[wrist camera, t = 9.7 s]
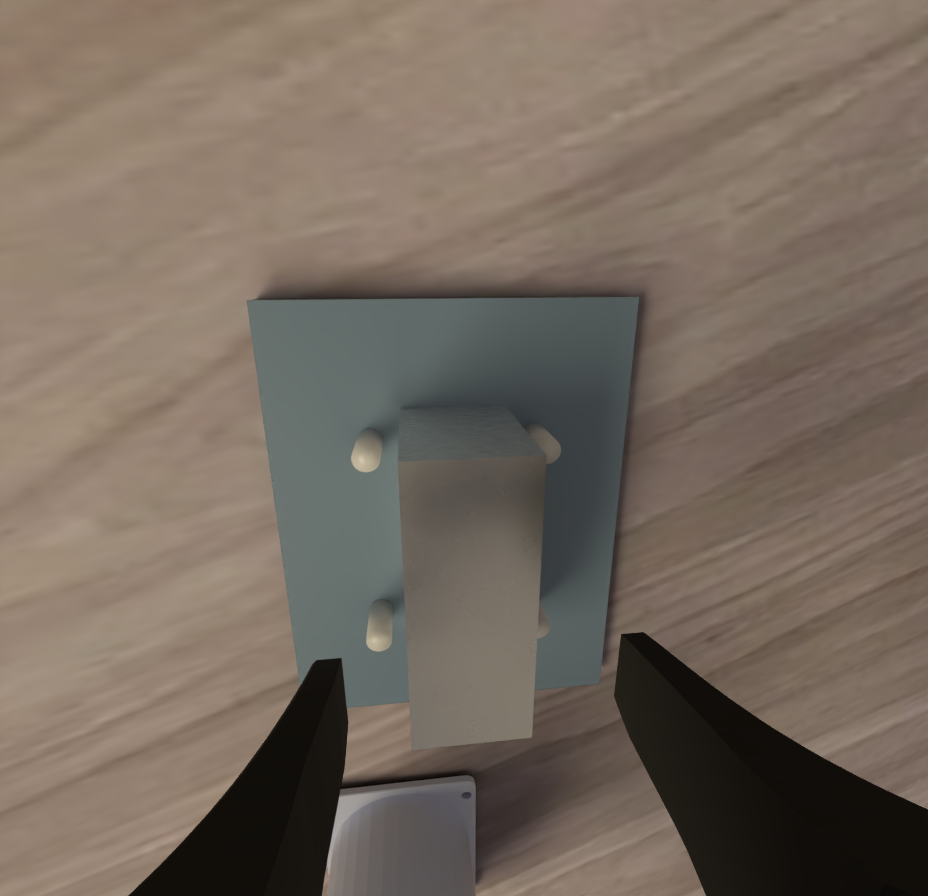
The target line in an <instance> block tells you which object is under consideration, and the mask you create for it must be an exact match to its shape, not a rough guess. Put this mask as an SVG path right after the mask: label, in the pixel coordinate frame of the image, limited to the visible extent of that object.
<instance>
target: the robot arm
mask: <svg viewBox="0 0 928 896" xmlns="http://www.w3.org/2000/svg"><path fill="white" fill-rule="evenodd" d="M614 697H615V700H616V703H617V705H618V708H619V711H620V714H621V716H622V719H623V722H624V724H625V727H626V729H627V732H628V734H629V737H630V739H631V741H632V743H633V745H634V747H635V749H636V751H637V753H638V755H639V756H640V758H641V760H642V762H643V764H644V766H645V768H646V770H647V772H648V774H649V776H650V778H651V780H652V782H653V784H654V786H655V787H656V789H657V791H658V793H659V795H660V797H661V799H662V801H663V803H664V805H665V807H666V809H667V811H668V812H669V814H670V816H671V818H672V820H673V822H674V824H675V826H676V828H677V830H678V832H679V834H680V836H681V838H682V840H683V842H684V845H685V847H686V849H687V851H688V853H689V856H690V858H691V860H692V863H693V865H694V868H695V870H696V872H697V875H698V877H699V880H700V882H701V884H702V887H703V889H704V892H705V894H706V896H928V809H926V808H923V807H921V806H919V805H917V804H914V803H912V802H910V801H908V800H906V799H904V798H901V797H899V796H897V795H895V794H893V793H891V792H888V791H886V790H884V789H882V788H880V787H878V786H876V785H874V784H872V783H870V782H868V781H866V780H864V779H862V778H860V777H858V776H856V775H854V774H852V773H850V772H849V771H847V770H845V769H843V768H841V767H839V766H837V765H835V764H833V763H832V762H830V761H828V760H826V759H824V758H822V757H821V756H819V755H817V754H815V753H814V752H812V751H810V750H808V749H806V748H805V747H803V746H801V745H800V744H798V743H797V742H795V741H793V740H792V739H790V738H788V737H787V736H785V735H783V734H782V733H780V732H778V731H777V730H775V729H774V728H772V727H771V726H769V725H767V724H766V723H764V722H763V721H761V720H760V719H758V718H757V717H755V716H754V715H752V714H751V713H750V712H748V711H747V710H745V709H744V708H742V707H741V706H739V705H738V704H737V703H735V702H734V701H732V700H731V699H730V698H728V697H727V696H725V695H724V694H723V693H721V692H720V691H719V690H717V689H716V688H715V687H713V686H712V685H711V684H709V683H708V682H707V681H705V680H704V679H703V678H701V677H700V676H699V675H697V674H696V673H695V672H694V671H692V670H691V669H690V668H688V667H687V666H686V665H685V664H683V663H682V662H681V661H680V660H678V659H677V658H676V657H675V656H673V655H672V654H671V653H670V652H668V651H667V650H666V649H664V648H663V647H662V646H661V645H659V644H658V643H657V642H656V641H654V640H653V639H652V638H650V637H649V636H648V635H646V634H645V633H644V632H641V633H629V634H621V641H620V650H619V658H618V667H617V676H616V684H615V693H614ZM347 732H348V715H347V705H346V696H345V686H344V676H343V666H342V658H334V659H322V660H316V661H315V662H314V663H313V664H312V666H311V667H310V669H309V671H308V673H307V675H306V677H305V678H304V680H303V682H302V684H301V685H300V687H299V689H298V691H297V692H296V694H295V696H294V697H293V699H292V700H291V702H290V704H289V705H288V707H287V708H286V710H285V712H284V713H283V715H282V716H281V718H280V719H279V721H278V722H277V724H276V725H275V727H274V728H273V730H272V731H271V733H270V734H269V736H268V737H267V739H266V740H265V741H264V743H263V744H262V746H261V747H260V748H259V750H258V751H257V752H256V754H255V755H254V757H253V758H252V759H251V761H250V762H249V763H248V765H247V766H246V767H245V769H244V770H243V771H242V773H241V774H240V775H239V777H238V778H237V779H236V780H235V782H234V783H233V784H232V785H231V787H230V788H229V789H228V790H227V792H226V793H225V794H224V795H223V796H222V798H221V799H220V800H219V801H218V802H217V804H216V805H215V806H214V807H213V808H212V810H211V811H210V812H209V813H208V814H207V815H206V816H205V818H204V819H203V820H202V821H201V822H200V823H199V824H198V825H197V826H196V827H195V829H194V830H193V831H192V832H191V833H190V834H189V835H188V836H187V837H186V838H185V840H184V841H183V842H182V843H181V844H180V845H179V846H178V847H177V848H176V849H175V850H174V851H173V852H172V853H171V854H170V855H169V856H168V858H167V859H166V860H165V861H164V862H163V863H162V864H161V865H160V866H159V867H158V868H157V869H155V870H154V871H153V872H152V873H151V874H150V875H149V876H148V877H147V878H146V879H145V880H144V881H143V882H142V883H141V884H140V885H139V886H138V887H137V888H136V889H135V890H134V891H133V892H132V893H131V894H130V895H129V896H322V890H323V883H324V876H325V871H326V865H327V866H328V873H329V883H328V890H327V896H476V895H475V853H476V785H475V780H474V778H473V777H472V776H469V775H463V776H454V777H445V778H436V779H427V780H418V781H409V782H400V783H392V784H383V785H374V786H365V787H356V788H347V789H341V784H342V779H343V773H344V767H345V756H346V745H347Z"/></svg>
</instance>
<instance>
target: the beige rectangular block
mask: <svg viewBox="0 0 928 896" xmlns="http://www.w3.org/2000/svg"><path fill="white" fill-rule="evenodd" d="M546 460H547V455H546V454H545V453H544V452H543V450H542V449H541V448H540V447H539V446H538V444H537V443H536V442H535V441H534V440H533V438H532V437H531V436H530V435H529V434H528V432H527V431H526V430H525V429H524V428H523V426H522V425H521V424H520V423H519V422H518V420H517V419H516V418H515V417H514V416H513V414H512V413H511V412H510V411H509V410H508V408H507V407H506V406H505V405H473V406H440V407H407V408H400V414H399V440H398V479H399V499H400V519H401V540H402V560H403V580H404V601H405V621H406V641H407V662H408V682H409V702H410V722H411V743H412V750H419V749H429V748H438V747H448V746H457V745H467V744H476V743H486V742H495V741H505V740H514V739H524V738H532V728H533V709H534V690H535V670H536V651H537V632H538V613H539V594H540V575H541V555H542V536H543V517H544V498H545V479H546Z"/></svg>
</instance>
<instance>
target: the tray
mask: <svg viewBox="0 0 928 896" xmlns="http://www.w3.org/2000/svg"><path fill="white" fill-rule="evenodd" d="M638 304H639V297H630V296H616V297H493V298H370V299H254V300H247V306H248V313H249V320H250V327H251V335H252V342H253V349H254V356H255V364H256V371H257V378H258V385H259V393H260V400H261V407H262V414H263V421H264V429H265V436H266V443H267V450H268V458H269V465H270V472H271V479H272V487H273V494H274V501H275V508H276V515H277V523H278V530H279V537H280V544H281V552H282V559H283V566H284V573H285V581H286V588H287V595H288V602H289V609H290V617H291V624H292V631H293V638H294V646H295V653H296V660H297V667H298V675H299V682H300V685H301V684H302V682H303V680H304V678H305V677H306V675H307V673H308V671H309V669H310V667H311V666H312V664H313V663H314V662H315V661H316V660H322V659H334V658H342V666H343V676H344V686H345V696H346V705H347V708H351V707H362V706H372V705H383V704H393V703H404V702H409V682H408V662H407V641H406V621H405V601H404V580H403V560H402V540H401V519H400V499H399V479H398V440H399V414H400V408H407V407H440V406H473V405H505V406H506V407H507V408H508V410H509V411H510V412H511V413H512V414H513V416H514V417H515V418H516V419H517V420H518V422H519V423H520V424H521V425H522V426H523V428H524V429H525V430H526V431H527V432H528V434H529V435H530V436H531V437H532V438H533V440H534V441H535V442H536V443H537V444H538V446H539V447H540V448H541V449H542V450H543V452H544V453H545V454H546V455H547V460H546V479H545V498H544V517H543V536H542V555H541V575H540V594H539V613H538V632H537V651H536V670H535V690H540V689H551V688H561V687H572V686H582V685H593V684H600V674H601V665H602V655H603V645H604V635H605V626H606V616H607V606H608V596H609V587H610V577H611V567H612V557H613V548H614V538H615V528H616V519H617V509H618V499H619V489H620V480H621V470H622V460H623V450H624V441H625V431H626V421H627V411H628V402H629V392H630V382H631V373H632V363H633V353H634V343H635V334H636V324H637V314H638Z"/></svg>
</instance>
